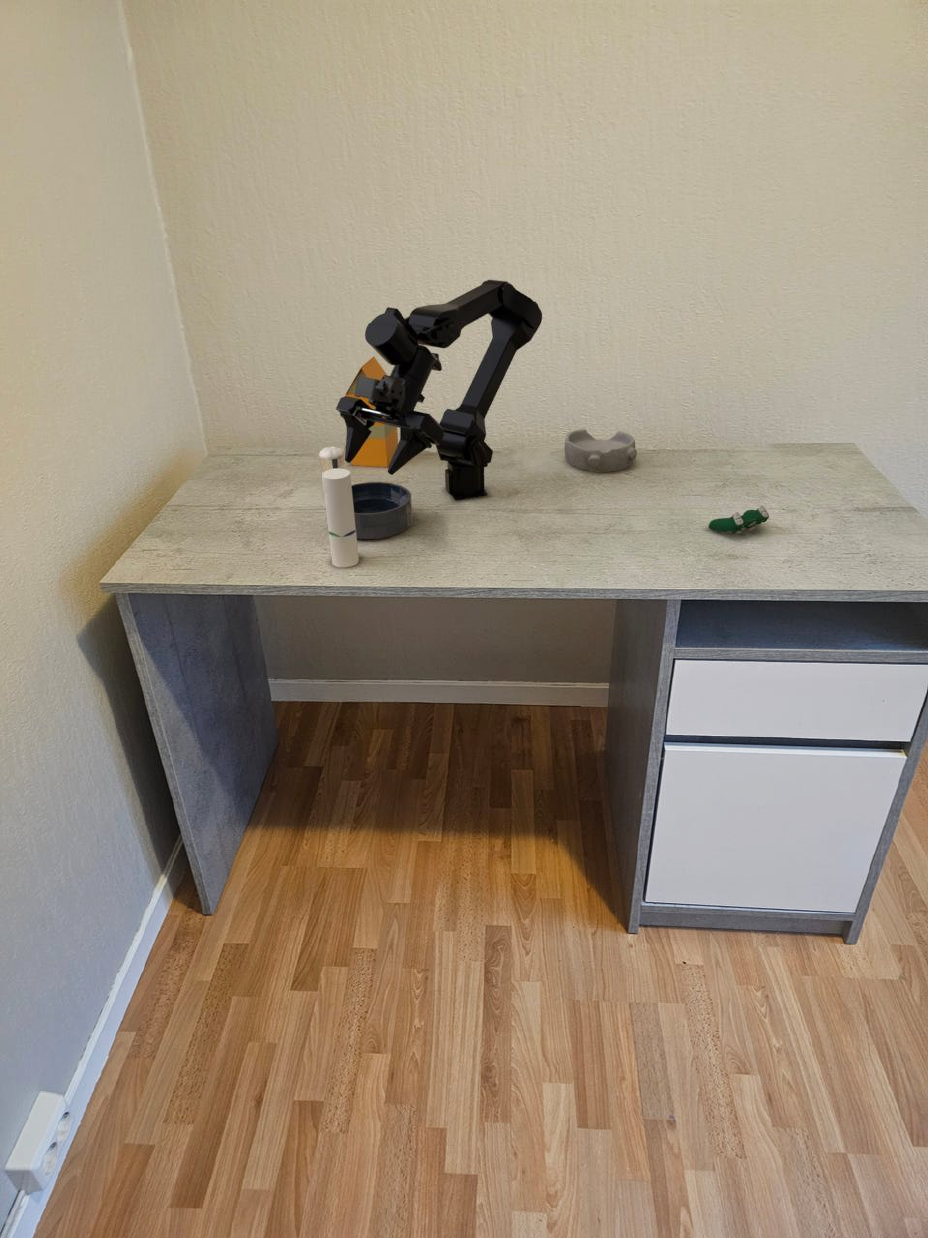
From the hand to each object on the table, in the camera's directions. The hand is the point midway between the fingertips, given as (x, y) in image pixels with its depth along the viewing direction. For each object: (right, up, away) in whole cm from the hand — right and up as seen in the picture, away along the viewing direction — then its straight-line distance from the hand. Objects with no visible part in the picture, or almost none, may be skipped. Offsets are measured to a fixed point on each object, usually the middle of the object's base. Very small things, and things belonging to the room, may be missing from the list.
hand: (368, 467), depth 133 cm
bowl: (-1, -7, +13) cm, 15 cm away
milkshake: (-9, -1, +25) cm, 27 cm away
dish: (+43, +7, +36) cm, 56 cm away
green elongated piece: (+62, -9, +8) cm, 63 cm away
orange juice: (-3, +9, +41) cm, 42 cm away
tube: (-4, -15, +2) cm, 16 cm away
